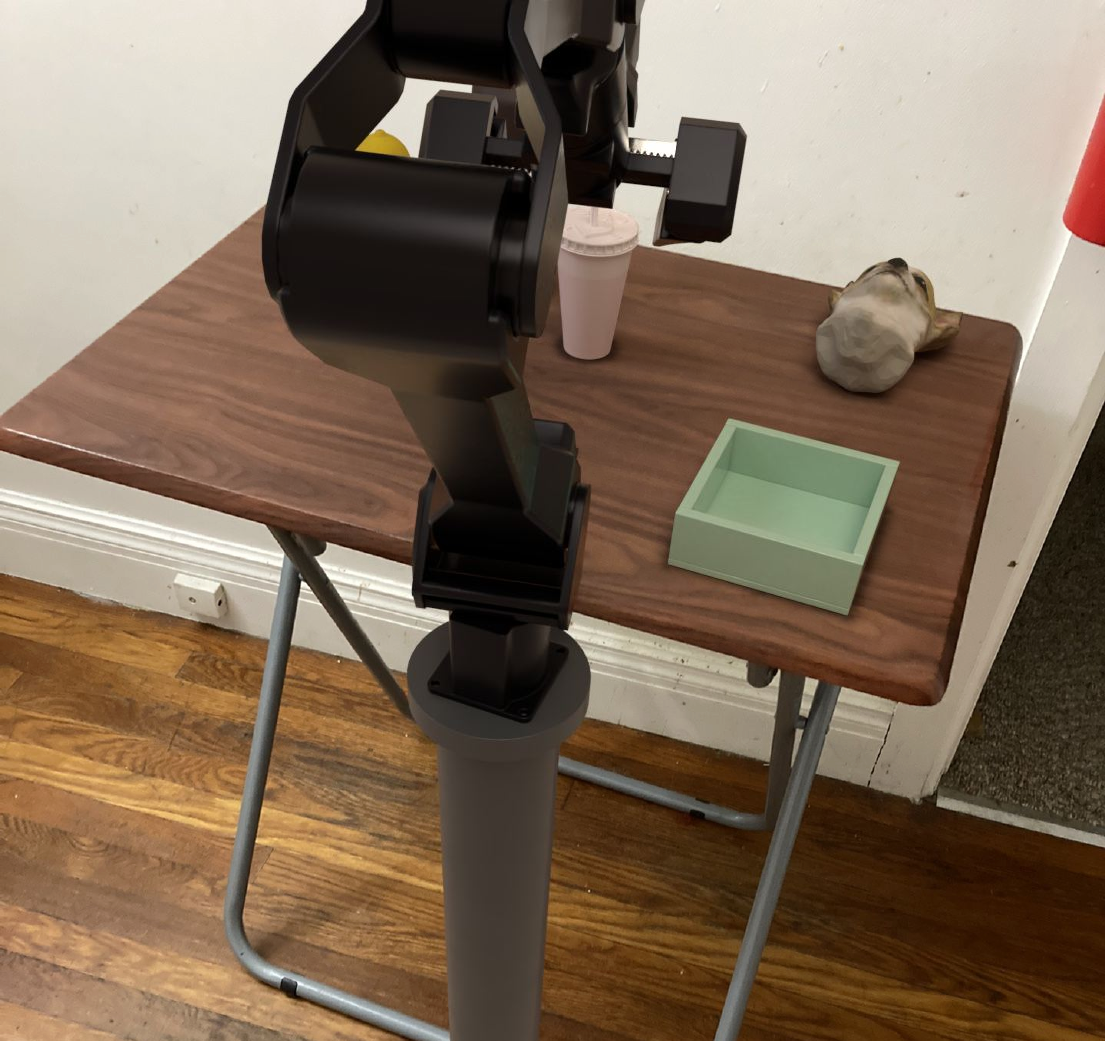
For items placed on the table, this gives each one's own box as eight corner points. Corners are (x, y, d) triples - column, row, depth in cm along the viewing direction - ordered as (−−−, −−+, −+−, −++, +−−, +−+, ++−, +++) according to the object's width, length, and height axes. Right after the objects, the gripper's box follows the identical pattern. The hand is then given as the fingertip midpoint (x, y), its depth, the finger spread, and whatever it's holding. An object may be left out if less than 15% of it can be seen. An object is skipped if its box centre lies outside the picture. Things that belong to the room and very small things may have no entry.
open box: (847, 616, 71) (863, 564, 68) (667, 564, 74) (675, 512, 71) (884, 511, 78) (900, 461, 75) (719, 468, 81) (728, 417, 78)
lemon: (382, 205, 107) (377, 112, 101) (429, 223, 105) (426, 129, 99) (341, 225, 104) (333, 130, 98) (388, 244, 102) (382, 148, 96)
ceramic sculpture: (799, 270, 82) (862, 208, 92) (773, 383, 88) (835, 313, 98) (946, 312, 79) (995, 243, 89) (908, 426, 85) (958, 349, 95)
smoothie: (533, 356, 90) (540, 169, 80) (564, 319, 94) (574, 137, 84) (611, 376, 89) (628, 188, 78) (639, 338, 93) (658, 154, 82)
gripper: (774, -39, 60) (749, 125, 76) (422, -74, 62) (468, 94, 77) (740, 173, 60) (722, 294, 76) (389, 133, 62) (442, 259, 77)
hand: (588, 230), depth 76 cm, fingers open, 9 cm apart
